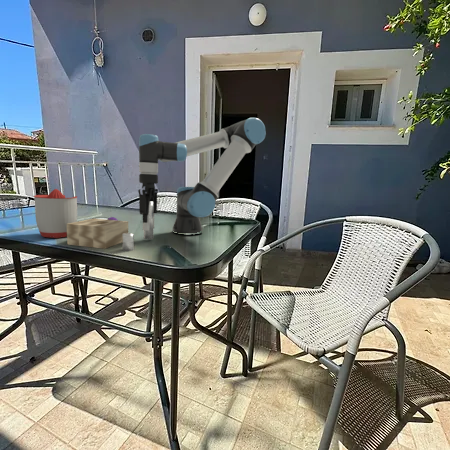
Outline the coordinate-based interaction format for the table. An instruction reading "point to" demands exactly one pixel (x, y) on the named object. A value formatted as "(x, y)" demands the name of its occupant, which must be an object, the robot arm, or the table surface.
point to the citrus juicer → (55, 213)
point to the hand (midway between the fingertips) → (148, 228)
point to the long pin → (149, 233)
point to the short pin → (128, 241)
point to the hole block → (96, 232)
